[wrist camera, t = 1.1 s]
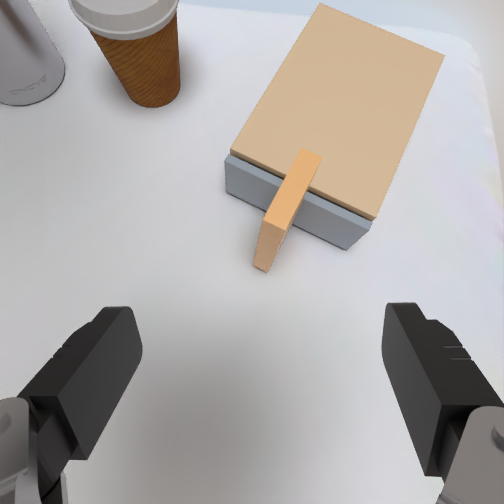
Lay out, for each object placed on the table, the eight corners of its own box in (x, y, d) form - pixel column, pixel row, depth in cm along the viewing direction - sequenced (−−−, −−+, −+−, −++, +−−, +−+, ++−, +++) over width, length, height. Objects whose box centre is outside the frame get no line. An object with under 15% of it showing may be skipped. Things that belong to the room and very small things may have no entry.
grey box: (302, 62, 40) (331, -59, 28) (408, 108, 39) (485, 3, 27) (198, 238, 33) (177, 177, 21) (323, 302, 32) (375, 275, 20)
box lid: (305, 58, 41) (319, 2, 35) (409, 104, 40) (445, 55, 33) (231, 185, 36) (230, 148, 29) (348, 242, 35) (376, 217, 28)
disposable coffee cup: (194, 118, 38) (177, 19, 27) (110, 120, 37) (54, 19, 26) (193, 53, 41) (177, -63, 29) (114, 54, 40) (65, -65, 29)
